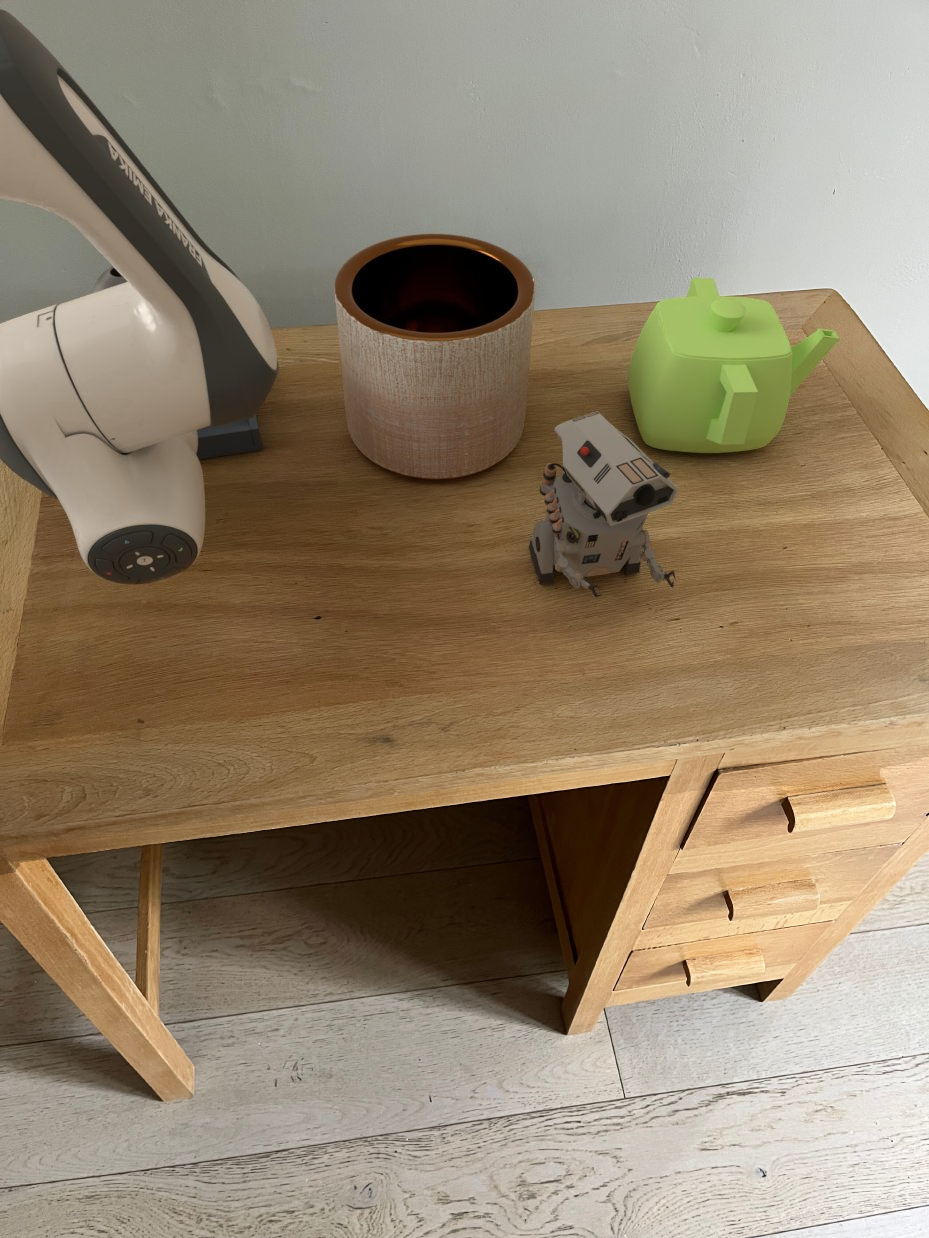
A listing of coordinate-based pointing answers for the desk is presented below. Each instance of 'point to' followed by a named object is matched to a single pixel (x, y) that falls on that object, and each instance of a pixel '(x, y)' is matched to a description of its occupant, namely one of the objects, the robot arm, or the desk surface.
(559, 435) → the figurine
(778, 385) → the teapot
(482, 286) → the planter
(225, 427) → the tray
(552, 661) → the desk surface
